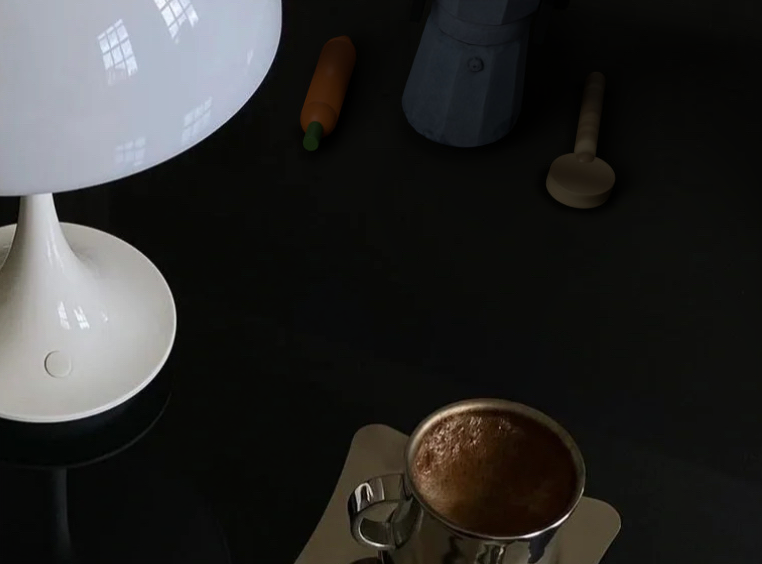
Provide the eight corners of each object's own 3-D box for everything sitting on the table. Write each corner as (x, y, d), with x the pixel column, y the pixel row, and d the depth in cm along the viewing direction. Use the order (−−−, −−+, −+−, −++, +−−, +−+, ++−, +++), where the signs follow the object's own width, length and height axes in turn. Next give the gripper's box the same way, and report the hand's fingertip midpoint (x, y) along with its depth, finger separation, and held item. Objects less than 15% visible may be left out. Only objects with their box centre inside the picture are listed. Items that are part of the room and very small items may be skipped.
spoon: (562, 81, 105) (568, 62, 104) (623, 91, 105) (629, 73, 104) (542, 201, 98) (548, 183, 96) (607, 214, 97) (614, 195, 96)
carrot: (326, 46, 107) (330, 13, 105) (360, 52, 107) (365, 19, 104) (290, 157, 100) (294, 123, 97) (326, 163, 99) (331, 130, 97)
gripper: (638, -82, 103) (615, 92, 92) (377, -126, 105) (323, 39, 94) (672, -187, 97) (652, -15, 85) (394, -231, 99) (338, -69, 87)
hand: (480, 13), depth 90 cm, fingers closed on moka pot, 8 cm apart
